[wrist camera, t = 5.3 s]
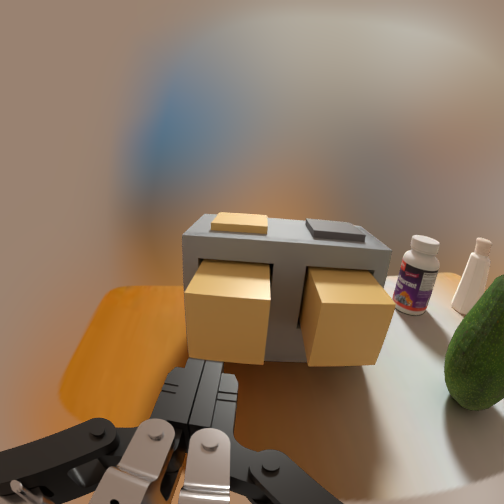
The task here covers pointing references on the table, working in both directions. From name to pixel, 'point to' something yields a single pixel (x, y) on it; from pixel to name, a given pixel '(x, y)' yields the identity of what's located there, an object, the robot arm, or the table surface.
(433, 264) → the pill bottle
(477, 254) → the pepper shaker
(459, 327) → the fruit
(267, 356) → the console
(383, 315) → the button
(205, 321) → the button
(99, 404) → the table surface
